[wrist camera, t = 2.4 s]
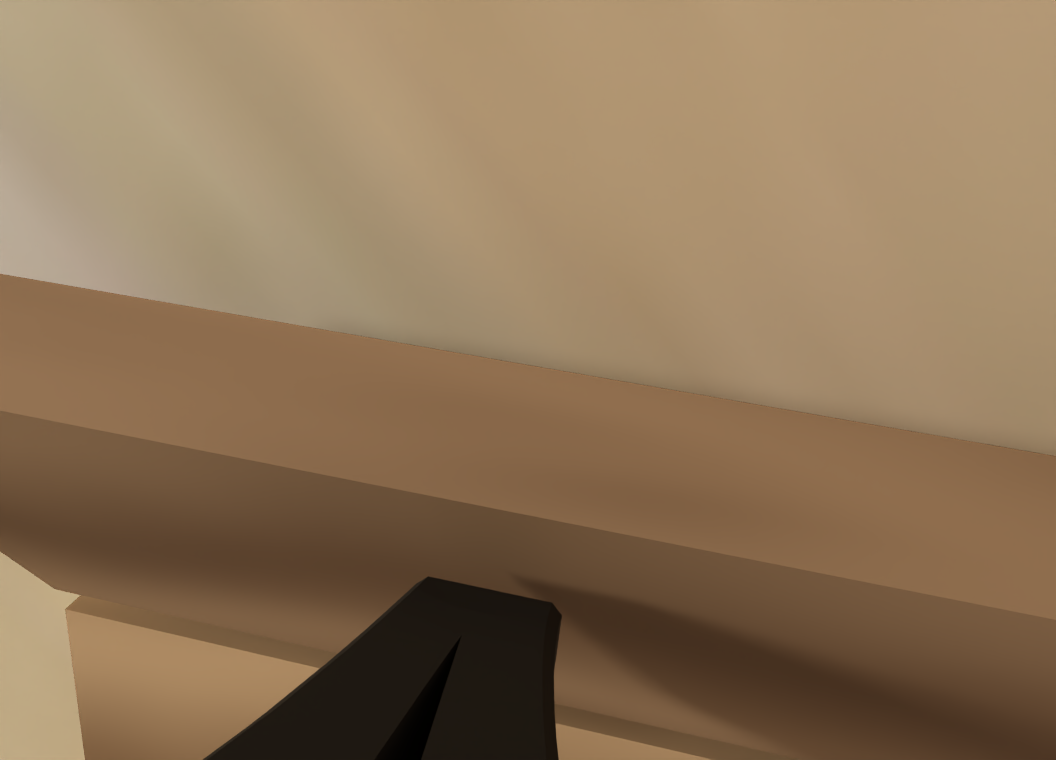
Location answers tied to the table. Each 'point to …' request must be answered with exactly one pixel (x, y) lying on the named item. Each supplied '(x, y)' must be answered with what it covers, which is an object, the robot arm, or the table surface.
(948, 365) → the table surface
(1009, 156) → the table surface
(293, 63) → the table surface
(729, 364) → the table surface
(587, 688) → the loose plank
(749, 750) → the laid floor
